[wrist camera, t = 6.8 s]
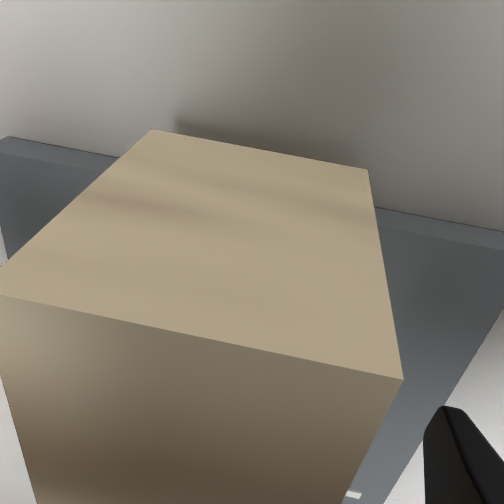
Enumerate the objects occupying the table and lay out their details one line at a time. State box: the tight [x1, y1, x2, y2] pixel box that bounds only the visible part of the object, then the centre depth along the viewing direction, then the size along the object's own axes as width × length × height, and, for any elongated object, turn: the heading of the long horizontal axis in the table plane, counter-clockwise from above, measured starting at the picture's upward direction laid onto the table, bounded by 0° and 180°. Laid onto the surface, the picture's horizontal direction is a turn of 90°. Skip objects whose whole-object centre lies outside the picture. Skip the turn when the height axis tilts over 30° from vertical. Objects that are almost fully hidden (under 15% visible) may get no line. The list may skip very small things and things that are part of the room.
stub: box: [0, 129, 404, 504], centre depth 9 cm, size 7×5×6 cm
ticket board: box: [0, 137, 504, 504], centre depth 17 cm, size 24×14×4 cm, turn 172°
